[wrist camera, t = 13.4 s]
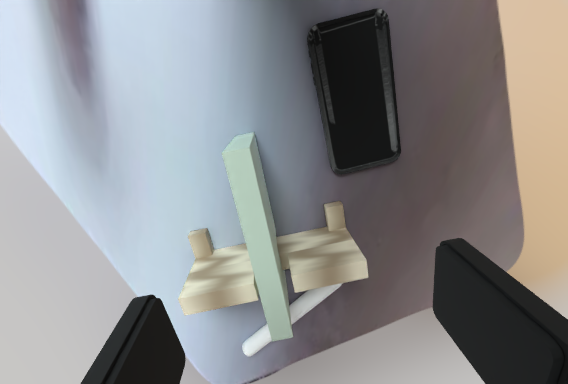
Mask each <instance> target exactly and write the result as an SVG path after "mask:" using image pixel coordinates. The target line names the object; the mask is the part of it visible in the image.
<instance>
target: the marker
mask: <svg viewBox="0 0 568 384" xmlns="http://www.w3.org/2000/svg"><path fill="white" fill-rule="evenodd" d="M342 284H343V283H340V284H335V285H331V286H326V287H321V288H316V289H311V290H308V291H307V292H305V293H304V294H303V295H302V296H300V297H299V298H298V299H297V300H295V301H294V302H293V303H292V304H290V305H289V307H290V315H291V324H293V323H295V322H296V321H297V320H298V319H300V318H301V317H302V316H304V315H305V314H306V313H307V312H309V311H310V310H311V309H313V308H314V307H315V306H316V305H318V304H319V303H320V302H321V301H323V300H324V299H325V298H326V297H328V296H329V295H330V294H332V293H333V292H334V291H335V290H337V289H338V288H339V287H340V286H341V285H342ZM271 341H272V340H271V336H270V332H269V328H268V325H267V324H266V325H264V326H263V327H262V328H261V329H259V330H258V331H257V332H256V333H254V334H253V335H252V336H251V337H249V338H248V339H247V340H246V341H245V342H244V343H243V344H242V346H243V347H242V349H243V352H244V353H245V355H247V356H248V357H250V356H252V355H254V354H255V353H256V352H258V351H259V350H260V349H262V348H263V347H264V346H265V345H267V344H268V343H269V342H271Z"/></svg>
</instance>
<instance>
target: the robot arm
mask: <svg viewBox="0 0 568 384" xmlns="http://www.w3.org/2000/svg"><path fill="white" fill-rule="evenodd" d="M433 311H434V314H435V316H436V318H437V319H438V320H439V322H440V323H441V325H442V326H443V327H444V329H445V330H446V331H447V333H448V334H449V335H450V337H451V338H452V339H453V341H454V342H455V343H456V345H457V346H458V347H459V349H460V350H461V351H462V353H463V354H464V355H465V357H466V358H467V360H468V361H469V362H470V363H471V365H472V366H473V368H474V369H475V370H476V372H477V373H478V374H479V376H480V377H481V378H482V380H483V381H484V382H485V384H568V319H566V318H565V317H563V316H562V315H561V314H560V313H558V312H557V311H556V310H554V309H553V308H552V307H551V306H549V305H548V304H547V303H545V302H544V301H543V300H542V299H540V298H539V297H538V296H536V295H535V294H534V293H533V292H531V291H530V290H529V289H527V288H526V287H525V286H523V285H522V284H521V283H520V282H518V281H517V280H516V279H514V278H513V277H512V276H510V275H509V274H508V273H507V272H505V271H504V270H503V269H501V268H500V267H499V266H498V265H496V264H495V263H494V262H492V261H491V260H490V259H488V258H487V257H486V256H485V255H483V254H482V253H481V252H479V251H478V250H477V249H475V248H474V247H473V246H472V245H470V244H469V243H468V242H466V241H465V240H464V239H462V238H457V239H451V240H446V241H442V242H441V243H440V246H438V247H437V248H436V256H435V274H434V293H433ZM184 366H185V353H184V350H183V348H182V346H181V343H180V341H179V339H178V337H177V334H176V332H175V330H174V328H173V325H172V323H171V321H170V319H169V316H168V314H167V312H166V310H165V307H164V305H163V303H162V301H161V299H160V298H156V297H155V296H154V295H147V296H142V297H136V298H134V299H133V300H132V301H131V302H130V304H129V306H128V307H127V309H126V311H125V312H124V314H123V316H122V317H121V319H120V320H119V322H118V323H117V325H116V327H115V328H114V330H113V332H112V333H111V335H110V337H109V338H108V340H107V341H106V343H105V345H104V346H103V348H102V350H101V351H100V353H99V354H98V356H97V358H96V359H95V361H94V363H93V364H92V366H91V368H90V369H89V371H88V372H87V374H86V376H85V377H84V379H83V381H82V382H81V384H180V380H181V376H182V373H183V369H184Z"/></svg>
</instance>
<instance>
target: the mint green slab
mask: <svg viewBox="0 0 568 384" xmlns="http://www.w3.org/2000/svg"><path fill="white" fill-rule="evenodd" d="M222 156H223V160H224V164H225V167H226V171H227V175H228V179H229V182H230V186H231V190H232V193H233V197H234V201H235V205H236V208H237V212H238V216H239V220H240V223H241V227H242V231H243V235H244V238H245V242H246V246H247V250H248V253H249V257H250V261H251V265H252V268H253V272H254V276H255V280H256V283H257V287H258V291H259V295H260V298H261V302H262V306H263V310H264V313H265V317H266V321H267V325H268V328H269V332H270V336H271V340H272V342H273V341H278V340H283V339H288V338H293V332H292V324H291V315H290V307H289V299H288V291H287V283H286V274H285V270H282V265H281V261H280V256H279V252H278V247H277V238H276V228H275V224H274V219H273V215H272V210H271V206H270V201H269V196H268V192H267V187H266V183H265V178H264V174H263V169H262V165H261V160H260V156H259V151H258V147H257V142H256V138H255V133H254V132H252V133H247V134H242V135H237V136H235V137H234V138H233V140H232V141H231V142H230V143H229V145H228V146H227V147H226V148H225V149H224V151H223V152H222Z"/></svg>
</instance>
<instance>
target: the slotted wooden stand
mask: <svg viewBox="0 0 568 384" xmlns="http://www.w3.org/2000/svg"><path fill="white" fill-rule="evenodd" d="M323 205H324V211H325V218H326V224H327V227H323V228H318V229H313V230H308V231H303V232H299V233H294V234H289V235H284V236H279V237H276V238H277V247H278V252H279V256H280V261H281V265H282V270H285V269H290V271H291V277H292V281H293V286H294V291H295V293H297V292H301V291H306V290H311V289H316V288H321V287H326V286H331V285H335V284H340V283H345V282H350V281H355V280H360V279H364V278H368V269H367V260H366V259H365V257H364V255H363V254H362V252H361V251H360V249H359V248H358V246H357V245H356V243H355V241H354V240H353V238H352V237H351V235H350V234H349V232H348V231H347V229H346V226H345V218H344V210H343V204H342V203H341V202H340V201H337V202H332V203H327V204H323ZM188 238H189V241H190V244H191V247H192V250H193V253H194V255H195V258H196V259H195V261H194V264H193V266H192V268H191V270H190V273H189V275H188V277H187V280H186V282H185V284H184V286H183V289H182V291H181V293H180V296H179V298H178V300H179V303H180V305H181V308H182V310H183V313H184V315H190V314H195V313H200V312H205V311H209V310H214V309H219V308H224V307H229V306H234V305H238V304H243V303H248V302H253V301H258V293H259V291H258V287H257V283H256V280H255V276H254V272H253V268H252V265H251V261H250V257H249V253H248V250H247V246H246V243H245V244H240V245H235V246H230V247H226V248H221V249H216V250H214V248H213V245H212V242H211V239H210V235H209V232H208V229H207V228H205V229H200V230H195V231H191V232H190V233H189V235H188Z"/></svg>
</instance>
